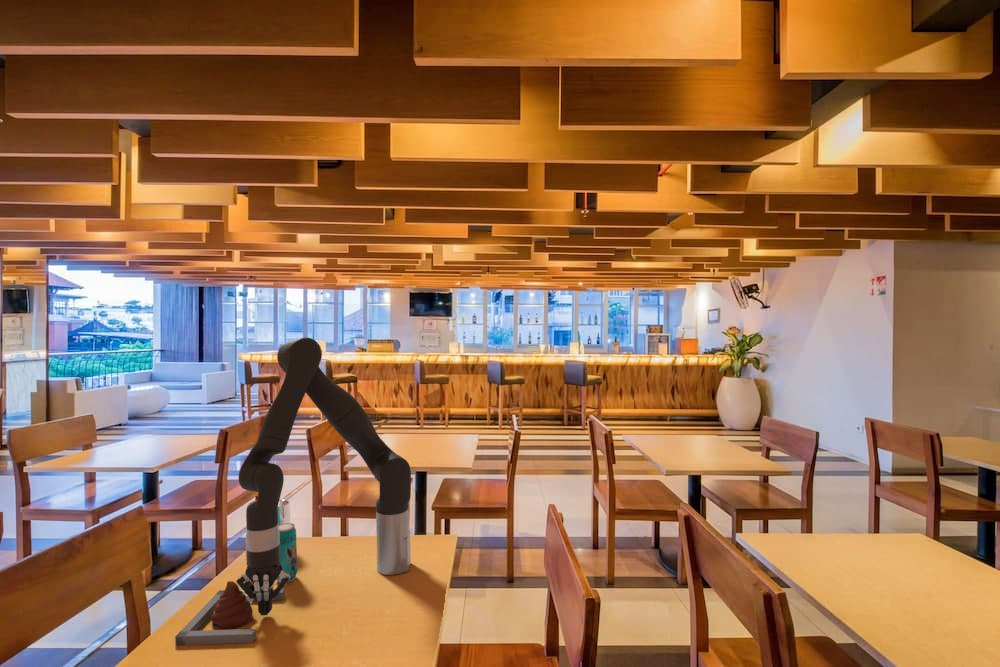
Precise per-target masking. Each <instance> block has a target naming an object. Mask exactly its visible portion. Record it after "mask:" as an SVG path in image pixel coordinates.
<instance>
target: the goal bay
mask: <svg viewBox="0 0 1000 667" xmlns="http://www.w3.org/2000/svg"><path fill="white" fill-rule="evenodd" d="M275 589H276V588H273V590H275ZM224 590H225V589H223V590H218V592H216V593H215V594H214V595H213V596H212V598H210V599H209V601H208V602H207V603H206V604H205V605H204V606H203V607H202V608H201V609H200V610H199V611H198V612H197V613H196V614H195V615H194V616H193V617H192V618H191V619H190V621H188V623H187V624H185V626H184V627H182V629H181V630H180V631H179V632H178V633H177V634H176V635H175V639H174V641H175V642H174V644H175V646H193V645H194V646H195V645H198V646H201V645H226V644H251V643H252V644H253V643H254V641H255V640H256V638H257V629H256V628H242V629H241V628H240V629H237V628H234V629H213V630H212V629H210V630H209V629H208V630H207V629H206V630H200V629H201V628H202V627H203V626H204V624H205V623H206V622H207V621H208V620H209V619H210V618H211V617H212V614H213V612H214V610H215V607H216V605H217V603H218V600H219V598H220V595H221V594H223V593H224ZM245 594H246V593H245ZM285 597H286V588H282V589H281V591H280V592H279V593H278V595H277V596H276V597H275V598H272V601H283V600H284V599H285ZM252 602H258V601H257V599H255V598H253V601H252Z"/></svg>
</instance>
